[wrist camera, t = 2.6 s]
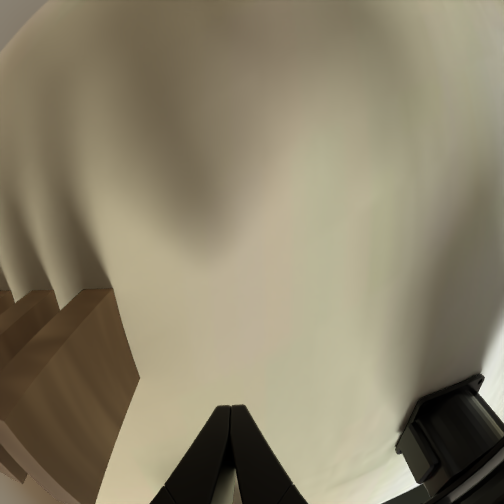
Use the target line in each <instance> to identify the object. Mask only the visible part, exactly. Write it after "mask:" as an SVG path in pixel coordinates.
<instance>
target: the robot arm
mask: <svg viewBox="0 0 504 504" xmlns="http://www.w3.org/2000/svg"><path fill="white" fill-rule="evenodd" d="M484 379H485V377H484V376H483V375H482V374H478V375H476V376H474V377H472V378H470V379H467V380H465V381H463V382H461V383H458V384H456V385H454V386H451V387H449V388H446V389H444V390H441V391H439V392H436V393H433V394H431V395H428V396H425V397H423V398H421V399H420V400H419V401H418V402H417V404H416V407H415V409H414V411H413V414H412V416H411V418H410V420H409V422H408V425H407V427H406V429H405V431H404V433H403V435H402V437H401V439H400V441H399V443H398V445H397V447H396V449H395V451H396V453H397V454H403V456H404V458H405V460H406V462H407V464H408V466H409V468H410V470H411V472H412V474H413V476H414V478H415V481H416V483H418V484H422V483H424V485H425V487H426V489H427V492H428V494H429V496H430V499H429V500H427V501H426V502H424V503H422V504H504V461H503V462H502V463H500V462H501V460H503V458H504V423H503V422H502V421H501V420H500V418H499V417H498V416H497V415H496V414H495V412H494V411H493V410H492V409H491V407H490V406H489V405H488V404H487V403H486V402H485V400H484V399H483V398H482V397H481V396H480V395H479V393H478V391H479V389H480V387H481V385H482V383H483V381H484ZM498 463H500V464H499V465H498V466H497V467H496V468H495V469H494V470H493V471H492V472H491V473H490V474H488V473H489V472H490V471H491V470H492V469H493V468H494V467H495V466H496V465H497V464H498ZM486 474H488V475H487V476H486V477H485V478H484V479H483V480H481V479H482V478H483V477H484V476H485V475H486ZM236 475H237V480H238V485H239V490H240V495H241V500H242V504H308V503H307V502H306V500H305V499H304V498H303V496H302V495H301V494H300V492H299V491H298V489H297V488H296V486H295V485H294V484H293V482H292V481H291V479H290V478H289V476H288V475H287V473H286V472H285V470H284V469H283V467H282V465H281V464H280V462H279V461H278V459H277V458H276V456H275V454H274V453H273V451H272V450H271V448H270V446H269V445H268V443H267V441H266V440H265V438H264V436H263V435H262V433H261V431H260V430H259V428H258V426H257V425H256V423H255V421H254V420H253V418H252V416H251V414H250V413H249V411H248V409H247V407H246V406H245V405H243V404H242V405H232V406H229V405H219V406H217V407H216V408H215V410H214V411H213V413H212V414H211V416H210V418H209V419H208V421H207V422H206V424H205V425H204V427H203V428H202V430H201V431H200V433H199V434H198V436H197V437H196V439H195V440H194V442H193V443H192V445H191V446H190V448H189V449H188V451H187V452H186V454H185V455H184V457H183V458H182V460H181V461H180V463H179V464H178V465H177V467H176V468H175V470H174V471H173V473H172V474H171V476H170V477H169V478H168V480H167V481H166V483H165V484H164V485H165V486H163V487H162V488H161V489H160V491H159V492H158V494H157V495H156V496H155V497H154V499H153V500H152V501H151V502H150V504H233V496H234V486H235V476H236ZM479 480H481V481H480V482H479V483H478V484H477V485H475V486H474V487H473V488H472V489H470V490H469V491H468V492H466V491H467V490H468V489H469V488H471V487H472V486H473V485H474V484H476V483H477V482H478V481H479ZM464 492H466V493H465V494H464V495H463V496H461V497H460V498H458V497H459V496H460V495H461V494H463V493H464ZM456 498H458V499H457V500H456V501H454V502H453V503H451V502H452V501H453V500H455V499H456Z"/></svg>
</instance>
